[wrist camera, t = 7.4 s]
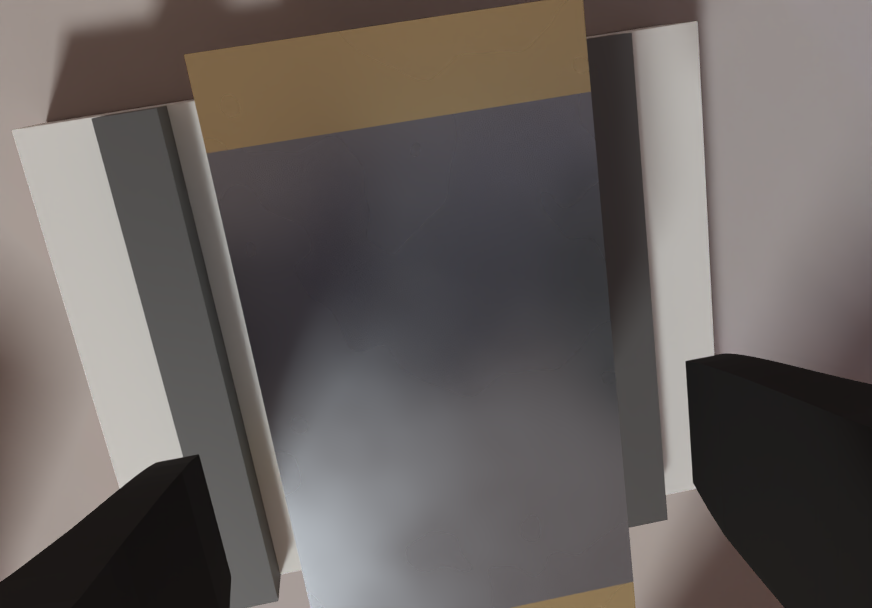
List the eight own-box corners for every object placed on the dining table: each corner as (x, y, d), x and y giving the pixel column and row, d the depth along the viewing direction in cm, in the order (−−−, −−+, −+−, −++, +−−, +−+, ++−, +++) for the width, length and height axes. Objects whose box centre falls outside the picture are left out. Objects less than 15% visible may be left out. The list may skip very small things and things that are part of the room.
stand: (660, 25, 19) (719, 18, 16) (687, 447, 22) (740, 504, 19) (45, 122, 18) (-9, 134, 15) (169, 552, 21) (144, 628, 18)
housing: (538, 459, 19) (638, 643, 13) (331, 500, 19) (333, 711, 13) (486, 19, 16) (582, -6, 10) (237, 57, 16) (183, 54, 10)
